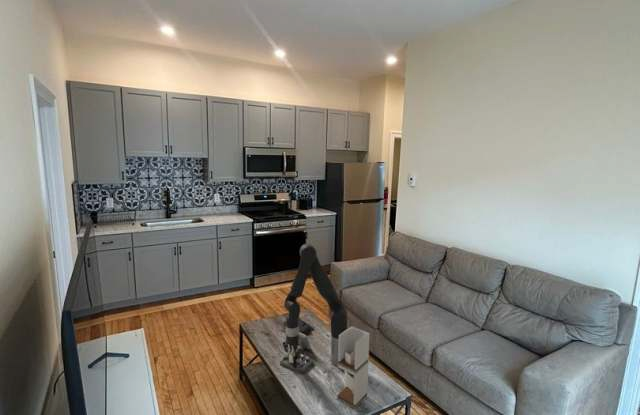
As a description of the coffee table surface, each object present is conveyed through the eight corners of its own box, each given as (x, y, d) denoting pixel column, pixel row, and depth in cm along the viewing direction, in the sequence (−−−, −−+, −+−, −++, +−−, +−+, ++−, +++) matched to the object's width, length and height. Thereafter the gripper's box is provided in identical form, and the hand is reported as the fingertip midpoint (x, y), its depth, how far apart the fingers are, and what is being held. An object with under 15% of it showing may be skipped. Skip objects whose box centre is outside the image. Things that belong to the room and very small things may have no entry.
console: (314, 362, 199) (314, 357, 198) (302, 374, 189) (302, 368, 188) (292, 354, 207) (292, 348, 206) (280, 364, 197) (279, 359, 196)
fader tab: (296, 359, 198) (296, 351, 197) (292, 363, 194) (292, 355, 193) (293, 358, 199) (293, 350, 198) (289, 361, 196) (289, 353, 195)
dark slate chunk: (299, 318, 252) (299, 312, 251) (315, 331, 234) (315, 324, 233) (281, 324, 243) (281, 317, 242) (296, 338, 225) (296, 331, 225)
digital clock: (311, 349, 212) (312, 334, 210) (300, 355, 206) (300, 339, 204) (297, 338, 224) (297, 323, 222) (285, 343, 219) (285, 328, 217)
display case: (350, 386, 179) (351, 326, 173) (367, 395, 173) (369, 333, 167) (337, 398, 171) (338, 335, 164) (354, 408, 164) (356, 343, 158)
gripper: (306, 333, 193) (306, 360, 196) (286, 326, 200) (287, 352, 203) (298, 339, 187) (298, 367, 190) (278, 332, 194) (279, 359, 197)
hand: (292, 359), depth 197 cm, fingers closed on fader tab, 2 cm apart
